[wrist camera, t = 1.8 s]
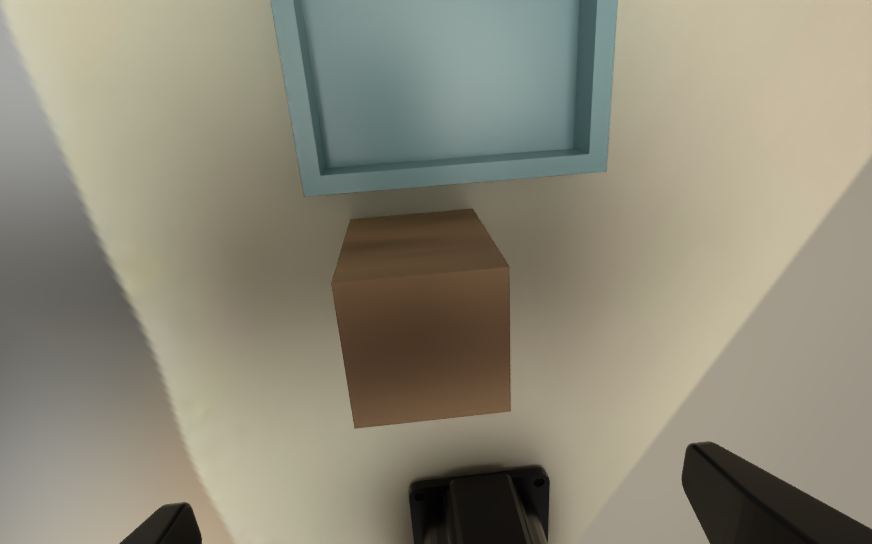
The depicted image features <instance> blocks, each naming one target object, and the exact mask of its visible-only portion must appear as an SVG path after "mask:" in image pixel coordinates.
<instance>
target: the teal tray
mask: <svg viewBox="0 0 872 544" xmlns="http://www.w3.org/2000/svg"><path fill="white" fill-rule="evenodd" d="M617 4H618V0H271V6H272V12H273V18H274V24H275V30H276V35H277V41H278V47H279V53H280V59H281V65H282V71H283V76H284V82H285V88H286V94H287V100H288V106H289V112H290V118H291V123H292V129H293V135H294V141H295V147H296V153H297V159H298V164H299V170H300V176H301V182H302V188H303V194H304V197H306V196H318V195H330V194H342V193H354V192H366V191H378V190H390V189H402V188H414V187H426V186H438V185H450V184H463V183H475V182H487V181H499V180H511V179H523V178H535V177H547V176H559V175H571V174H583V173H595V172H606V169H607V154H608V139H609V124H610V109H611V94H612V79H613V64H614V49H615V34H616V19H617Z"/></svg>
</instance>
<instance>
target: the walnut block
mask: <svg viewBox="0 0 872 544" xmlns="http://www.w3.org/2000/svg"><path fill="white" fill-rule="evenodd" d="M331 285H332V291H333V297H334V303H335V309H336V316H337V322H338V328H339V334H340V341H341V347H342V353H343V359H344V365H345V372H346V378H347V384H348V390H349V397H350V403H351V409H352V415H353V421H354V428H364V427H373V426H382V425H391V424H400V423H409V422H418V421H427V420H436V419H446V418H455V417H464V416H473V415H482V414H491V413H500V412H509V411H511V393H510V282H509V266H508V264H507V262H506V261H505V259H504V258H503V256H502V254H501V253H500V251H499V250H498V248H497V247H496V245H495V243H494V242H493V240H492V239H491V237H490V236H489V234H488V232H487V231H486V229H485V228H484V226H483V224H482V223H481V221H480V220H479V218H478V217H477V215H476V213H475V212H474V210H473V209H466V210H455V211H443V212H431V213H420V214H408V215H397V216H385V217H374V218H362V219H350V223H349V226H348V229H347V233H346V236H345V239H344V243H343V246H342V249H341V253H340V256H339V259H338V263H337V266H336V270H335V273H334V276H333V280H332V283H331Z"/></svg>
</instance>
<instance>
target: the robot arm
mask: <svg viewBox="0 0 872 544" xmlns="http://www.w3.org/2000/svg"><path fill="white" fill-rule="evenodd" d="M539 478H540V479H539ZM536 479H539V480H536ZM549 485H550V481H549V477H548V475H547V472H546V471H545V470H544V469H542V468H531V469H523V470H514V471H506V472H497V473H488V474H480V475H471V476H463V477H454V478H446V479H437V480H429V481H420V482H416V483H414V484H412V485H411V486H410V488H409V502H410V510H411V519H412V528H413V536H414V544H548V518H549ZM682 485H683V488H684V491H685V493H686V495H687V497H688V499H689V501H690V504H691V506H692V508H693V510H694V512H695V514H696V516H697V518H698V520H699V522H700V524H701V526H702V528H703V530H704V532H705V534H706V536H707V538H708V540H709V542H710V544H872V529H870V528H869V527H867V526H864V525H863V524H861V523H860V522H858V521H856V520H854V519H852V518H850V517H849V516H847V515H845V514H843V513H841V512H839V511H838V510H836V509H834V508H832V507H830V506H828V505H827V504H825V503H823V502H821V501H819V500H818V499H815V498H814V497H812V496H810V495H808V494H807V493H804V492H803V491H801V490H799V489H798V488H796V487H794V486H792V485H790V484H788V483H787V482H785V481H783V480H781V479H779V478H778V477H776V476H774V475H772V474H770V473H768V472H767V471H765V470H763V469H761V468H759V467H757V466H756V465H754V464H752V463H750V462H748V461H746V460H745V459H743V458H741V457H739V456H737V455H736V454H734V453H732V452H730V451H728V450H726V449H725V448H723V447H721V446H719V445H717V444H715V443H713V442H698V443H692V444H689V445H688V446H687V448H686V453H685V459H684V466H683V471H682ZM417 493H422V494H417ZM120 544H202V537H201V533H200V530H199V527H198V524H197V521H196V518H195V515H194V512H193V509H192V507H191V505H190V504H189V503H186V502H182V503H174V504H166V505H163V506H162V507H161V508H159V509H158V510H157V511H155V512H154V513H153V514H152V515H151V516H150V517H149V518H148V519H147V520H145V521H144V522H143V523H142V524H141V525H140V526H139V527H138V528H136V529H135V530H134V531H133V532H132V533H131V534H130V535H129V536H127V537H126V538H125V539H124V540H123V541H122V542H121V543H120Z"/></svg>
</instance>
